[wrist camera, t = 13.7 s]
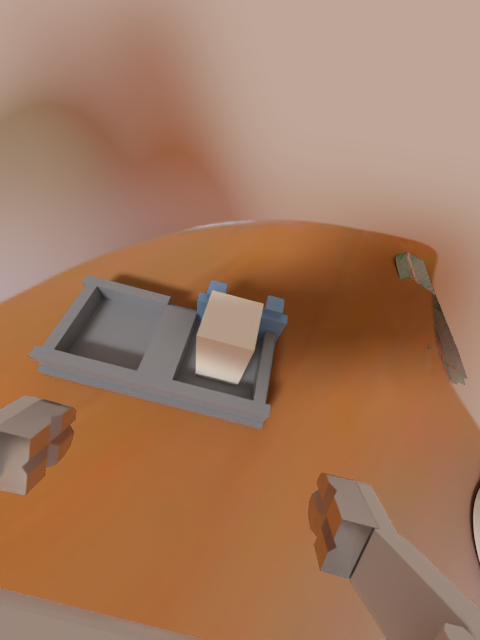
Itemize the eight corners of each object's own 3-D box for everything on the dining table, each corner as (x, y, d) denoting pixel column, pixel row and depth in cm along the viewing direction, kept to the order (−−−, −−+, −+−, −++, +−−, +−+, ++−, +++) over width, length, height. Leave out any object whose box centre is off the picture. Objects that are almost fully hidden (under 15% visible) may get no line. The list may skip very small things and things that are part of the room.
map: (418, 258, 40) (422, 254, 40) (472, 386, 30) (479, 383, 29) (388, 253, 40) (392, 248, 39) (432, 381, 29) (439, 378, 28)
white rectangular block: (245, 348, 26) (263, 303, 19) (237, 386, 24) (254, 350, 17) (207, 338, 26) (212, 290, 19) (195, 375, 24) (196, 335, 17)
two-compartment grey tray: (275, 331, 29) (291, 301, 24) (260, 429, 23) (278, 416, 18) (101, 285, 28) (82, 245, 23) (42, 374, 23) (1, 346, 18)
